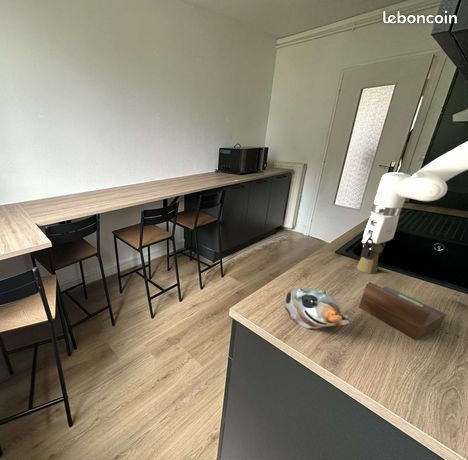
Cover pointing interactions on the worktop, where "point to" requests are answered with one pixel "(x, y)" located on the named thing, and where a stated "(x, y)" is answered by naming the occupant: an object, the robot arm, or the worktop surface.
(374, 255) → the cork
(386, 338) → the worktop surface
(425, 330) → the brown wooden box
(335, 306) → the snowman head
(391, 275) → the worktop surface
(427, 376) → the worktop surface
